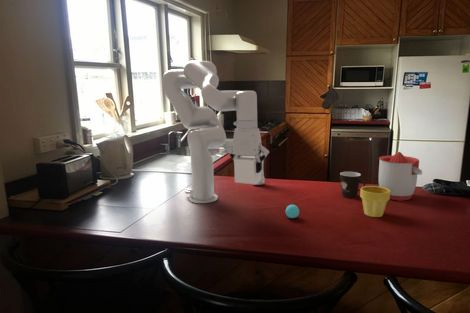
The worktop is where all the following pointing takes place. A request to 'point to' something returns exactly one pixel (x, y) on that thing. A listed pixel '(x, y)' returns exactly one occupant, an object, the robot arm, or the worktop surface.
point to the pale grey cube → (246, 170)
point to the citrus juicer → (399, 175)
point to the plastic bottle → (261, 174)
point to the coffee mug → (350, 184)
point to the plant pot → (374, 200)
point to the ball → (292, 211)
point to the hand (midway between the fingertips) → (248, 171)
